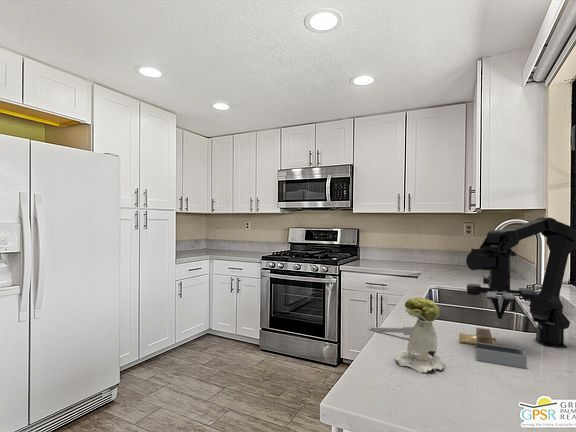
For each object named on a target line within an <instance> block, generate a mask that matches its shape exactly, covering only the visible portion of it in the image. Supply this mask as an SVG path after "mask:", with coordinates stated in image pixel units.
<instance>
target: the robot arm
mask: <svg viewBox="0 0 576 432" xmlns="http://www.w3.org/2000/svg"><path fill="white" fill-rule="evenodd" d="M537 234H541V235H542V236H544V237H545V238H546V245H547V247H548V250H549V253H548V254H549V255H548V257H547V264H546V265H545V266H546V267H545V272H544V275H543V281H542V284H541V288H540V292H538V294H537V292H535V290H534V289H532V288H527V287H518V289H511V257H516V256H517V253H516V252H514V250H512V249H513V248H514V247H515V246H517V245H519V242H520V241H522V240H524V239H527V238H529V237H532V236H535V235H537ZM575 249H576V228H575V227H572V226H570V225H569V224H566V223H564V222H560V221H558V220H556V219H555V218H553V217H538V218H536V219H533V220H530V221H528V222H525V223H522V224H520V225H517V226H514V227H512V228H504V229H495V230H490V231H489V232H487V234H486V237H485V239H484V240H483V241H482V243H481V245H480V246H479V248H471V249H470V253H469V254H467V256H466V259H465V263H466V266H467V267H468V269H469V270H471V271H489V273H488V274H487V273H483V274H482V284H483V285H488V287H484V286H483V287H482V286H481V284H479V283H467V284H466V294H467V295H470V296H479V295H480V294H485V297H486V299H488V300H490V301H491V302H492V305H493V308H494V310H495V313H496V316H497V319H498V320H502V318H503V316H504V314H505V311H506V309H507V308H508V306H509V304H510V303H511V302H515V297H521V298H522V299H523V300H524V301H530V303H529V304H528V308H529V313H530V315H531V317H532V320H533V322H534V323H537V327H536V328H535V338H534V340H536V341H537V342H538V343H540V344H542V345H543V346H547V347H559V348H560V347H561V348H567V347H568V346H567V344H565V340H564V339H565V338H564V337H565V333H564V331H565V330H566V329H569V328H570V323H571V321H570V320H569V319H568V317H567V316H566V315H565V314H564V312H563V310H564V304H563V303H562V301H561V298H560V293H561V290H562V289H561V288H562V286H563V285H562V284H563V281H564V276H565V271H566V267H567V263H568V258H569V255H570V254H571V253H572V252H573V251H574V250H575ZM497 295H500V303H499V297H498V296H497ZM499 304H500V305H499Z"/></svg>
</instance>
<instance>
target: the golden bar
mask: <svg viewBox="0 0 576 432" xmlns="http://www.w3.org/2000/svg"><path fill="white" fill-rule="evenodd" d="M458 338H459V339H458V341H459V343H460V344H467V345H473V346H476V342H477V336H476V334H475V335H473V334H468V333H459V334H458ZM492 338H493V342H492V344H494V345H497V338H495V337H492Z"/></svg>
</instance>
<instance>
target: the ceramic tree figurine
mask: <svg viewBox="0 0 576 432" xmlns="http://www.w3.org/2000/svg"><path fill="white" fill-rule="evenodd" d="M404 307H405V308H406V309H405V312H406V313H408V315H409V316H411V317H414V318H417V320H416V323H415V324H414V326H412V327H413V329H412V331H411V334H410V335H409V337H408V344H407V348H406V349H405V350H401V351H400V352H399V353H400V354H396V355H395V361H396V362H397V363H398V365H399V367H403V366H404V367H405V366H406V367H409V368H411V369H413V370H415V371H416V372H419V373H420V374H421V373H428V371H429V372H431V371H432V370H434V371H436V370H440V371H442V370H444V369H445V367H446V366H445V365H446V364H445V363H444V362H443V361H442V360H441V357H440V355H439V354H437V350H438V338H439V337H438V336H437V331H436V330H435V328H434V324H433V322H435V321H436V319H437V318H438V317H439V316H440V315H441V311H440V307H439V306H438V305H437V304H436V303H435V302H434V301H433V300H430V299H428V298H425V297H413V298H412V297H411V298H408V299H407V301H405V302H404Z"/></svg>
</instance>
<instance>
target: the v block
mask: <svg viewBox="0 0 576 432" xmlns="http://www.w3.org/2000/svg"><path fill="white" fill-rule="evenodd" d="M475 358H476V362H477V361H478V362H484V363H490V364H496V365H501V366H508V367H513V368H519V369H520V368H521V369H527V365H528V364H527V358H528V357H527V355H525V354H524V349H523V348H520V347H513V346H506V345H499V344H496V345H494V344H487V343H480V342H476V345H475Z"/></svg>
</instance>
